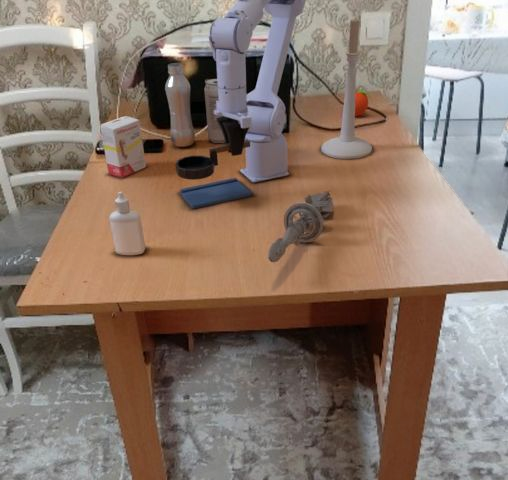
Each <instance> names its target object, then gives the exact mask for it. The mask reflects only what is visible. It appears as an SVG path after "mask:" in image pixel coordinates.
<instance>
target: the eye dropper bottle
mask: <svg viewBox="0 0 508 480" xmlns="http://www.w3.org/2000/svg"><path fill="white" fill-rule="evenodd" d="M114 204H115V205H114V206H115V209H116V210H114V211H113V212H111V213H110V215H109V217H108V219H109V226H110V230H111V237H112V240H113V245H114V250H115V253H116V254H118V255H121V256H137V255H141V254H143V253H144V252H145V250H146V241H145V235H144V230H143V225H142V224H143V223H142V218H141V215H140V213H139V212H138V211H136V210H133V209H131V206H130V201H129V197H127V196H124V193H123V191H118V192H117V197H116V198H115V200H114Z"/></svg>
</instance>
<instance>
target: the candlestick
mask: <svg viewBox="0 0 508 480" xmlns="http://www.w3.org/2000/svg"><path fill="white" fill-rule="evenodd" d="M349 22H350V23H349V24H350V25H349V26H350V27H349V41H348V50H347V51H345V52H344V54H345V55H346V57H347V58H346V61H347V64H348V67H347V69H346V71H347V73H346V80H345V81H346V82H345V89H344V99H343V108H342V118H341V126H340V134H339V136H337V137H333V138H330V139H327V140H326V141H325V142H324V143H322V145H321V153H323V154H324V155H326V156H328V157H331V158H335V159H340V160H341V159H342V160H353V159H360V158H364V157H367V156H369V155H370V154H371V153H372V151H373V147H372V144H371V143H369V142H368V141H367V140H365V139H363V138H360V137H357V136H356V135H355V133H356V131H355V127H356V125H355V124H356V123H355V122H356V116H355V90H356V82H357V81H356V80H357V79H356V78H357V68H356V65H357V62H358V61H359V55H360V54H361V53H362V52H361V51H358V48H359V47H358V46H359V34H360V33H359V30H360V19H357V18H356V17H355V18H354V19H350V21H349Z"/></svg>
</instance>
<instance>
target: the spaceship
mask: <svg viewBox="0 0 508 480" xmlns="http://www.w3.org/2000/svg"><path fill="white" fill-rule="evenodd" d="M330 192H331V190H325V191H323V192H321V193H315V194H311V193H309V194H308V195H307V196H306V197H304V202H303V201H302V202H301V201H300V202H296V203H293V204H291V205H289V207H288V208H287V209H286V210H285V213H284V215H283V227H284V229H285V232H284V234H283V236H282V237H279V238H277V239H276V240H275V241H274V242H273V243H272V244H271V245H270V247H269V250H268V253H267V258H268V260H269V262H271V263H277V262H279V261H280V260H281V259H282V258H283V256H284V255H285V254H286V251H287V248H288V247H289V246H290V245H292V244H294V245H295V246H296V247H298V246H299V245H300V244H301V243H312V242H314V241H316V240H317V239H318V238H319V237H320V236H321V235H322V233H323V230H324V219H325V218H326V217H329V215H330V214H331V213H332V212H333V211H334V202H333V197H332V196H331V193H330ZM320 211H323V212H325V213H324V214H323V215H322V214H321V212H320ZM326 212H327V213H326ZM297 214H298V215H299V217H300V218H299V217H298V216H296V215H297ZM307 229H309V230H310V229H311V231H310V232H308V230H307Z"/></svg>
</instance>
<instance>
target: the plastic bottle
mask: <svg viewBox="0 0 508 480" xmlns="http://www.w3.org/2000/svg"><path fill="white" fill-rule="evenodd" d="M167 73H168V78H167V80H166V82H165V85H164V91H165V95H166V99H167V103H168V109H169V115H170V129H169V131H170V132H169V134H170V135H169V137H170V141H171V143H172V145H174V146H175V147H177V148H181V147H182V148H186V147H189V146H191V145H192V146H193V144H194V142H195V140H196V139H195V138H196V134H195V128H194V126H193V121H192V115H191V84H190V82H189V80H188V79H187V77H185V75H184V73H185V71H184V65H183V63H181V62H172V63H169V64H167Z"/></svg>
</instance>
